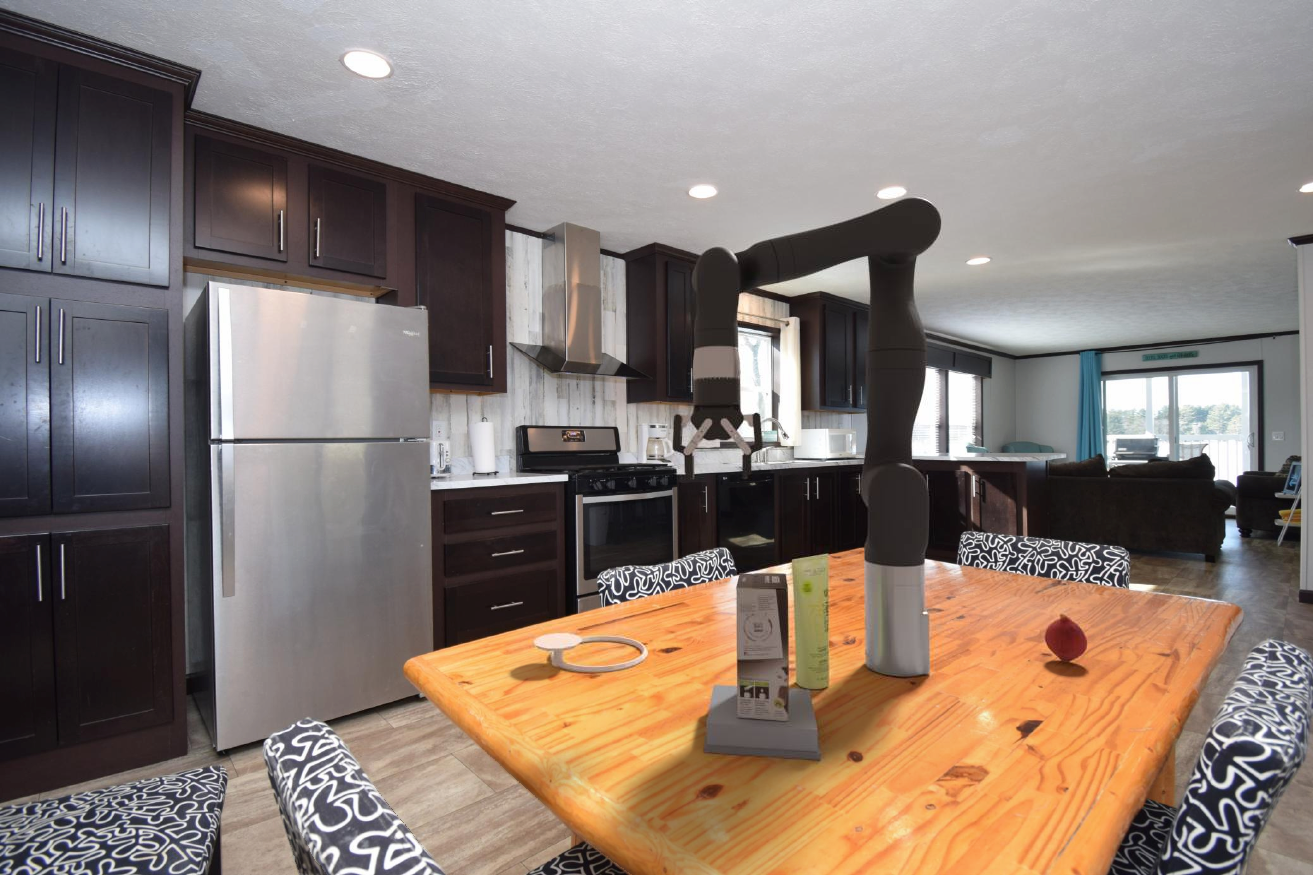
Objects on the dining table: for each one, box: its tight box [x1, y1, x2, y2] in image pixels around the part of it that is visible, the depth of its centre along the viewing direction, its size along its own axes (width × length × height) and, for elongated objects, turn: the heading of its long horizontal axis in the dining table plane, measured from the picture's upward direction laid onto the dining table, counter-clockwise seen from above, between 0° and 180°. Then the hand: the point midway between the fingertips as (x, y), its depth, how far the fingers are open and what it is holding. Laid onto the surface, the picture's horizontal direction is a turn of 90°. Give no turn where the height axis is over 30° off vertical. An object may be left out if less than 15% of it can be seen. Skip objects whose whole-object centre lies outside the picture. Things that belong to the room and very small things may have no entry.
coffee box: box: [735, 572, 790, 721], centre depth 82 cm, size 9×6×16 cm
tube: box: [791, 553, 830, 690], centre depth 97 cm, size 6×5×20 cm
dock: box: [703, 684, 822, 761], centre depth 82 cm, size 14×13×3 cm
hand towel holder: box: [533, 632, 649, 674], centre depth 111 cm, size 17×4×20 cm
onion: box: [1044, 612, 1088, 663], centre depth 106 cm, size 6×6×8 cm
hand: (717, 478), depth 103 cm, fingers open, 8 cm apart
